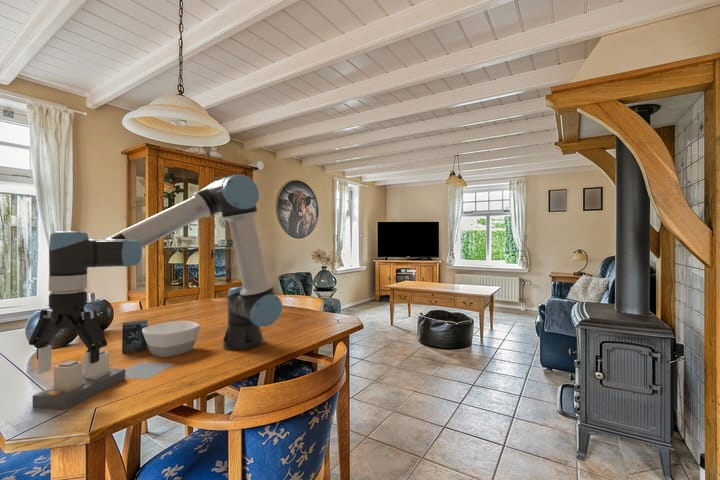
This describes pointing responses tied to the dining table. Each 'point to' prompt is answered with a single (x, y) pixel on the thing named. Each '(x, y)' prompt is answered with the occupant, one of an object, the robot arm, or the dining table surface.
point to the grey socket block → (77, 392)
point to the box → (133, 336)
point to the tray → (146, 370)
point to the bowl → (171, 337)
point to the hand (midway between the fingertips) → (67, 373)
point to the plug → (100, 366)
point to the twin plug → (68, 376)
